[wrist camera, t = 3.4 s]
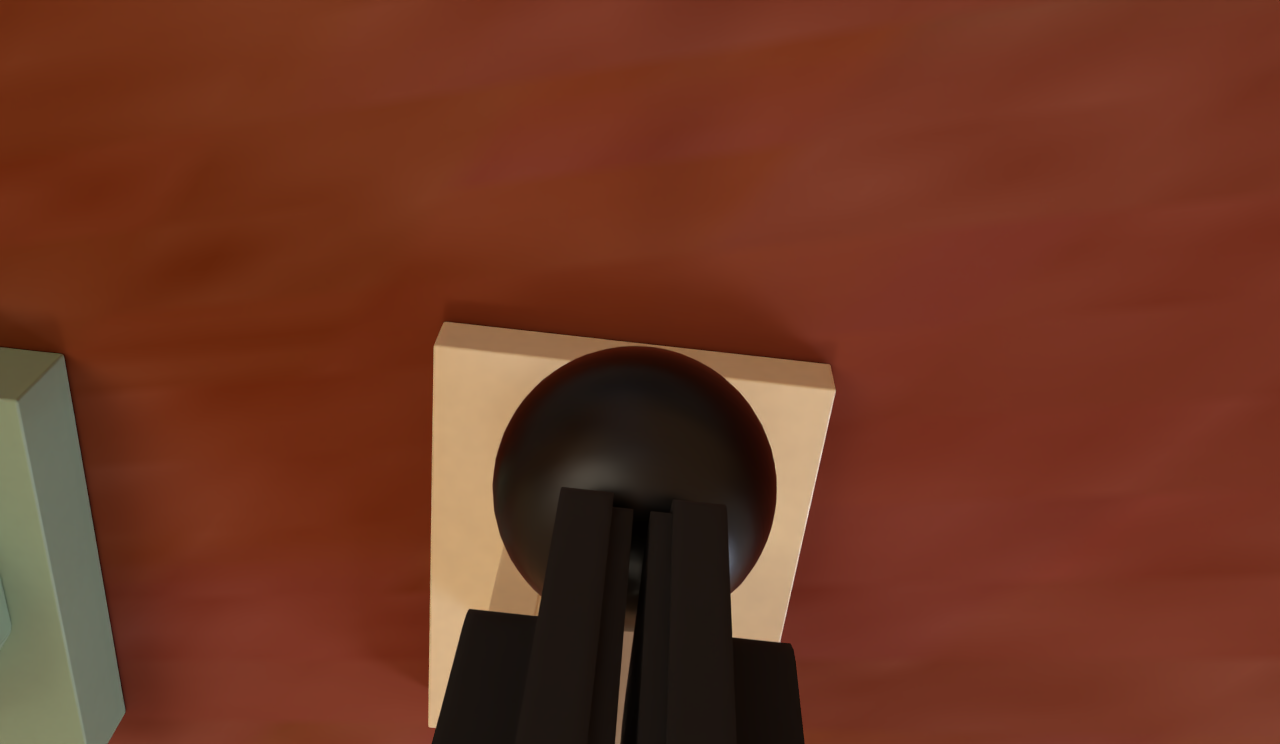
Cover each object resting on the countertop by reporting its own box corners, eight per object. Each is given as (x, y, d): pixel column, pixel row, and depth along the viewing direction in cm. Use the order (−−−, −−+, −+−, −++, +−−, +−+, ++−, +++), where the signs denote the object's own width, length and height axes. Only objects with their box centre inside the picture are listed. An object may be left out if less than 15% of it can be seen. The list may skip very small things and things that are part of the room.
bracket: (443, 320, 26) (258, 762, 15) (830, 363, 26) (932, 834, 15) (436, 695, 32) (299, 1211, 21) (751, 728, 32) (782, 1258, 21)
